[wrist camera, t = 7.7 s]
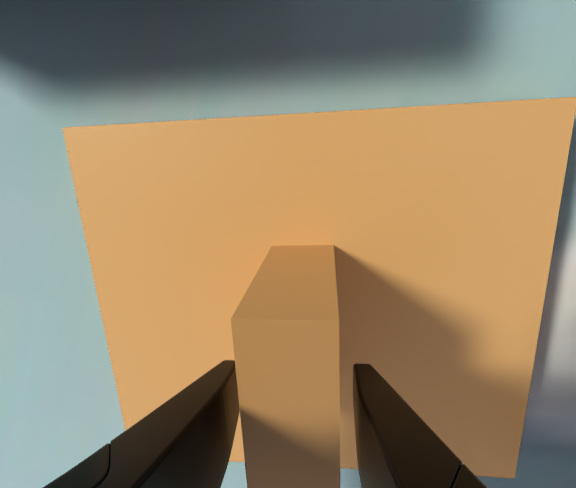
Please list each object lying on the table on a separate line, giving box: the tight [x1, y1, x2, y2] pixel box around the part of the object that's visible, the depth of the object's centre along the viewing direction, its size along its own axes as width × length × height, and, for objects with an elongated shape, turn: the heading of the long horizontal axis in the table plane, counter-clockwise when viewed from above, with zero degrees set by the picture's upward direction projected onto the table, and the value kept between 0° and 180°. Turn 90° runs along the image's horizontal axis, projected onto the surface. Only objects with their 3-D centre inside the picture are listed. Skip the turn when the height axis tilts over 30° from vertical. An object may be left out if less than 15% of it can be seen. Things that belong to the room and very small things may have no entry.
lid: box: [62, 97, 576, 488], centre depth 10 cm, size 15×13×7 cm
